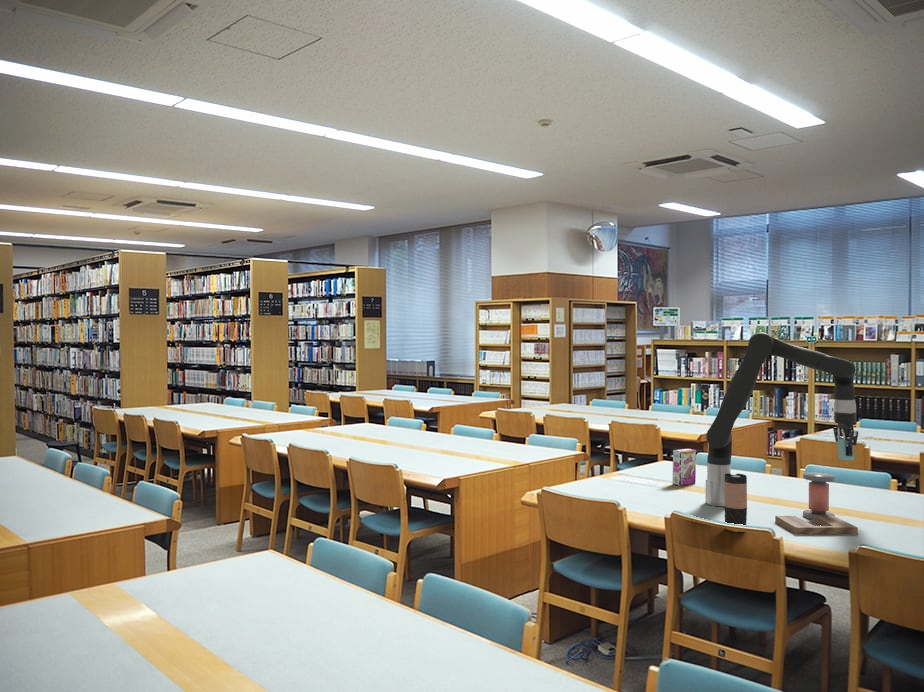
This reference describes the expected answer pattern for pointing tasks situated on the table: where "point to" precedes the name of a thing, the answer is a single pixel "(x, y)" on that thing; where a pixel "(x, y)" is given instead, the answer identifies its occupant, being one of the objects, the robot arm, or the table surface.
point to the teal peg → (844, 450)
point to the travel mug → (735, 498)
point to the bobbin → (818, 494)
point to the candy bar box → (684, 467)
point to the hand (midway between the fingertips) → (845, 454)
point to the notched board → (827, 526)
